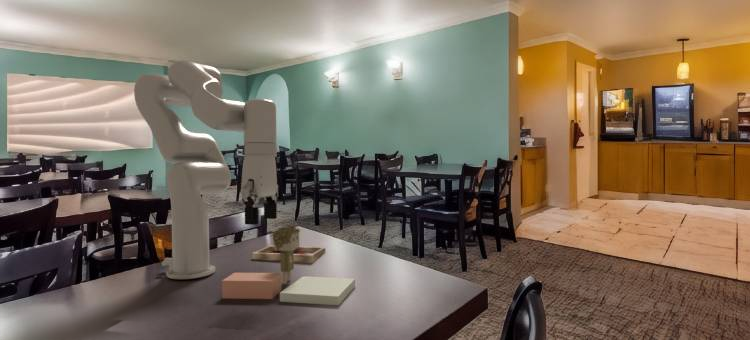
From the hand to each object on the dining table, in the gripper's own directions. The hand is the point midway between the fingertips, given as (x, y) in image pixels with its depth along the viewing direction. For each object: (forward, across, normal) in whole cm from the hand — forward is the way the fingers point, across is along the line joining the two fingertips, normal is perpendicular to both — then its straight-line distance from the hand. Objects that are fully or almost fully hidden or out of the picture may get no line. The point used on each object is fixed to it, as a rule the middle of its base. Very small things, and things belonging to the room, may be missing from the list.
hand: (261, 221), depth 100 cm
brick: (+18, +1, -2) cm, 18 cm away
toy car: (+18, -32, -6) cm, 37 cm away
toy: (+18, -10, +2) cm, 20 cm away
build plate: (+18, -2, +14) cm, 23 cm away
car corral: (+18, -32, -6) cm, 37 cm away
